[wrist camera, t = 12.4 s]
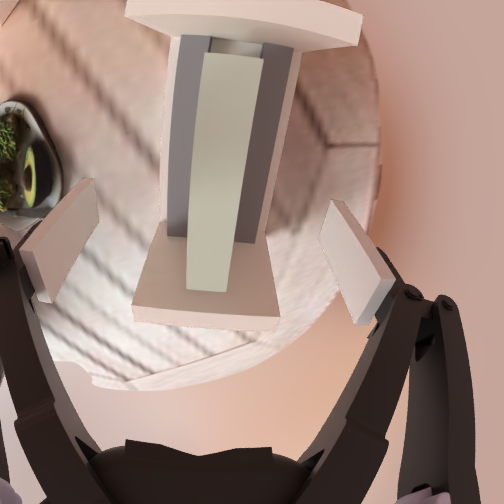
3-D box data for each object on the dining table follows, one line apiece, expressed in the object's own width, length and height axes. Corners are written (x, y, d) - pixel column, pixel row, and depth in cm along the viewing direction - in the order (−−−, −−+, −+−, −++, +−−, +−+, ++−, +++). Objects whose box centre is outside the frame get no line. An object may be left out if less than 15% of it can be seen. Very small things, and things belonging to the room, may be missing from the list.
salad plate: (10, 246, 33) (-4, 264, 29) (-40, 156, 22) (-59, 169, 19) (87, 200, 30) (71, 219, 27) (29, 79, 20) (5, 85, 16)
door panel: (215, 59, 21) (202, 52, 11) (250, 63, 21) (265, 59, 12) (198, 210, 30) (184, 288, 21) (227, 213, 31) (227, 292, 21)
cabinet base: (260, 239, 35) (275, 331, 24) (162, 230, 33) (134, 321, 22) (302, 35, 21) (363, 15, 10) (177, 20, 19) (130, -15, 8)
